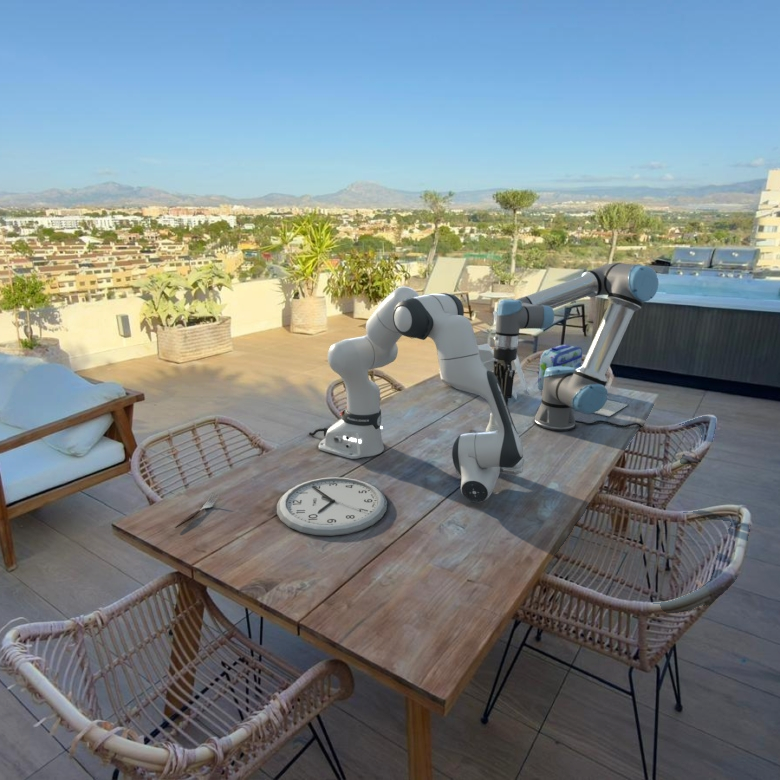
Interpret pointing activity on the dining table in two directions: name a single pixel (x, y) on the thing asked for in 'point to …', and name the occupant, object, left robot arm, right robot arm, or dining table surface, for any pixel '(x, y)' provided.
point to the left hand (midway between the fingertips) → (493, 449)
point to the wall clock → (331, 506)
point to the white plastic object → (488, 360)
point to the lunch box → (559, 360)
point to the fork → (206, 505)
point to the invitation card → (610, 408)
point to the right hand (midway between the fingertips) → (499, 413)
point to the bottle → (491, 424)
